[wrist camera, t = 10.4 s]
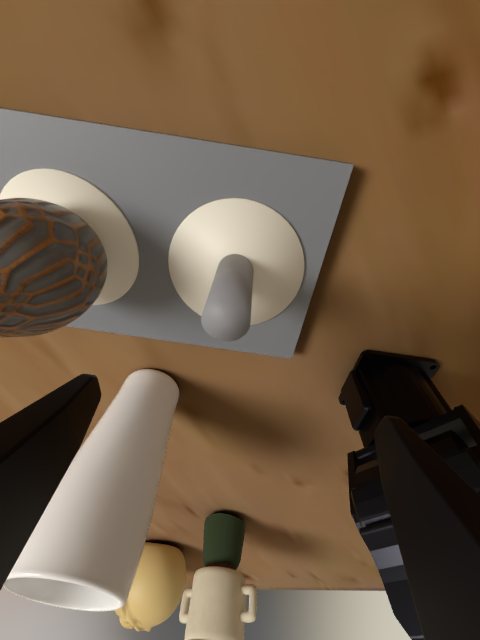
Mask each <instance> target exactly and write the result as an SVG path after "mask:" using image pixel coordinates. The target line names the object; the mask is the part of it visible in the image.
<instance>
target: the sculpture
mask: <svg viewBox="0 0 480 640" xmlns="http://www.w3.org/2000/svg"><path fill="white" fill-rule="evenodd" d="M185 583H186V563H185V559H184V556H183V553H182V552H181V551H180V550H179V549H178V548H176V547H173V546H170V545H165V544H158V543H150V542H145V545H144V548H143V552H142V555H141V558H140V562H139V565H138V568H137V571H136V574H135V577H134V580H133V583H132V586H131V589H130V592H129V596H128V599H127V602H126V604H125V605H124V606H123V607H122V608H120V609H117V610H114V611H115V612H116V614H117V615H118V616H119V618H120V623H121V624H122V626H123V627H124V628H129V629H132V628H135V629H136V630H137V631H141V630H145V631H148V632H149V631H150V630H151V628H152V627H153V626H156V625H158V624H160V623H162V622H163V621H165V620H166V619H167V618H168V617H170V615H171V614H172V613H173V612H174V611H175V609H176V608H177V606H178V604H179V602H180V600H181V597H182V595H183V592H184V588H185Z"/></svg>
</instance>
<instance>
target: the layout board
mask: <svg viewBox="0 0 480 640" xmlns="http://www.w3.org/2000/svg"><path fill="white" fill-rule="evenodd" d="M353 166H354V165H353V164H350V163H346V162H340V161H334V160H327V159H321V158H315V157H309V156H302V155H296V154H290V153H284V152H277V151H271V150H265V149H258V148H252V147H246V146H240V145H233V144H227V143H221V142H214V141H208V140H202V139H196V138H189V137H183V136H177V135H170V134H164V133H158V132H152V131H145V130H139V129H133V128H126V127H120V126H114V125H108V124H101V123H95V122H89V121H83V120H76V119H70V118H64V117H57V116H51V115H45V114H39V113H32V112H26V111H20V110H13V109H7V108H1V107H0V200H1V199H9V198H31V199H38V200H43V201H48V202H51V203H54V204H57V205H60V206H62V207H65V208H67V209H69V210H70V211H72V212H74V213H75V214H77V215H78V216H79V217H81V218H82V219H83V220H84V221H85V222H86V223H87V224H88V225H89V226H90V227H91V228H92V229H93V230H94V231H95V233H96V234H97V236H98V237H99V239H100V241H101V243H102V245H103V247H104V249H105V252H106V256H107V265H108V266H107V277H106V281H105V284H104V287H103V289H102V291H101V293H100V295H99V297H98V298H97V299H96V301H95V302H94V303H93V304H92V306H91V307H90V308H89V309H88V310H87V311H86V312H85V313H84V314H82V315H81V316H80V317H79V318H77V319H76V320H74V321H73V322H71V323H69V324H67V325H65V326H68V327H75V328H82V329H89V330H96V331H103V332H110V333H117V334H124V335H131V336H138V337H144V338H151V339H158V340H165V341H172V342H179V343H186V344H193V345H200V346H207V347H214V348H221V349H227V350H234V351H241V352H248V353H255V354H262V355H269V356H276V357H283V358H290V359H292V357H293V354H294V350H295V347H296V344H297V341H298V338H299V335H300V332H301V329H302V325H303V322H304V319H305V316H306V313H307V310H308V307H309V304H310V300H311V297H312V294H313V291H314V288H315V285H316V282H317V279H318V275H319V272H320V269H321V266H322V263H323V260H324V257H325V253H326V250H327V247H328V244H329V241H330V238H331V235H332V232H333V228H334V225H335V222H336V219H337V216H338V213H339V210H340V207H341V203H342V200H343V197H344V194H345V191H346V188H347V185H348V182H349V178H350V175H351V172H352V169H353Z"/></svg>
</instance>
